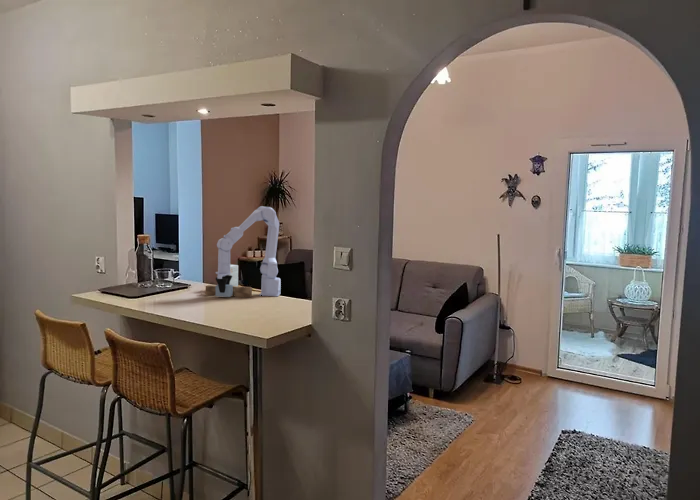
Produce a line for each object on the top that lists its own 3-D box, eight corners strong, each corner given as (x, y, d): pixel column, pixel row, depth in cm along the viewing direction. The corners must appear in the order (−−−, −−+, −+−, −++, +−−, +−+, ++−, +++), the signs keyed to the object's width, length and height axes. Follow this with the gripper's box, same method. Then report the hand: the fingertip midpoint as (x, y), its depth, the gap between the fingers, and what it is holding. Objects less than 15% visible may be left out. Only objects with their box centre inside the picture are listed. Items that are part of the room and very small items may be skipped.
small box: (227, 288, 281) (228, 264, 280) (238, 289, 279) (238, 265, 278) (218, 291, 274) (219, 265, 272) (229, 292, 272) (230, 266, 270)
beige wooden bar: (251, 296, 264) (252, 287, 263) (250, 297, 260) (250, 288, 260) (207, 293, 265) (208, 284, 265) (205, 295, 262) (205, 286, 261)
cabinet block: (232, 295, 260) (232, 284, 259) (229, 296, 255) (230, 286, 255) (217, 294, 260) (217, 284, 260) (214, 296, 256) (214, 285, 255)
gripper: (220, 261, 264) (220, 288, 265) (211, 264, 249) (210, 293, 251) (234, 261, 263) (234, 289, 265) (226, 265, 249) (225, 294, 250)
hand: (223, 291), depth 258 cm, fingers closed on cabinet block, 4 cm apart
